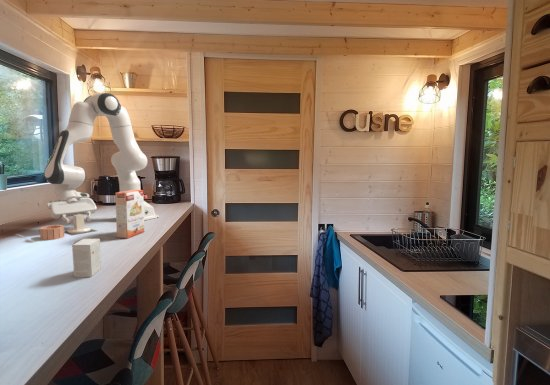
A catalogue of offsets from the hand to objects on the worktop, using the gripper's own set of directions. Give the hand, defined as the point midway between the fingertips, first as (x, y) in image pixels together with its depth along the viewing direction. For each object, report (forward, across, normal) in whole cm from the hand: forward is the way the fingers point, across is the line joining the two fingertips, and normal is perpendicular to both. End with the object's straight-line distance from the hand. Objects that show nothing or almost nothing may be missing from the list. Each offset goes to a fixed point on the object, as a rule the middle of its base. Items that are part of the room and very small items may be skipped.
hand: (79, 221), depth 171 cm
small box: (+47, -24, -39) cm, 65 cm away
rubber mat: (+3, 0, +4) cm, 5 cm away
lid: (+3, 0, +4) cm, 5 cm away
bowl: (+6, -13, +2) cm, 14 cm away
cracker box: (+20, +13, -12) cm, 27 cm away
